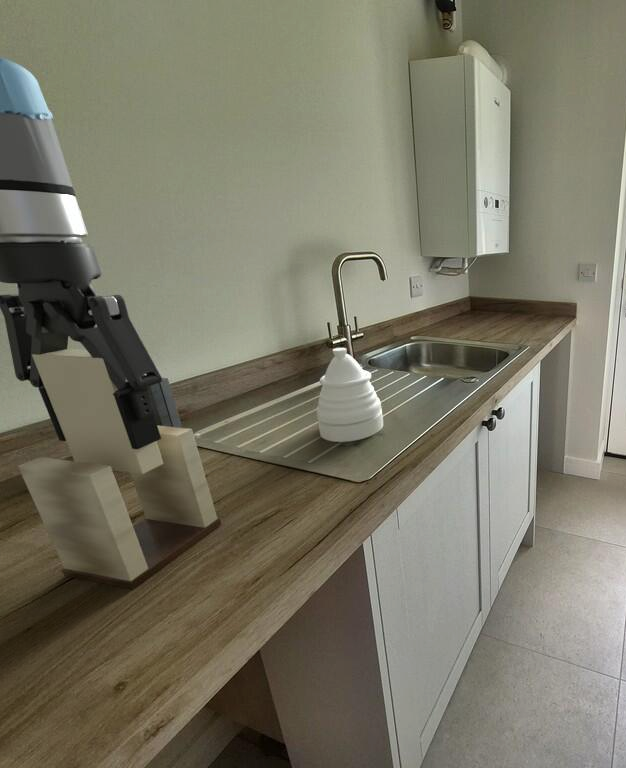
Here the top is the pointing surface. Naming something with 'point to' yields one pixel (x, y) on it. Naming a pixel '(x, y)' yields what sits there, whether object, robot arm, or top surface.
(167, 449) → the cream book stand
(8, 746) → the top surface
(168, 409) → the grey book stand
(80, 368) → the cream book
